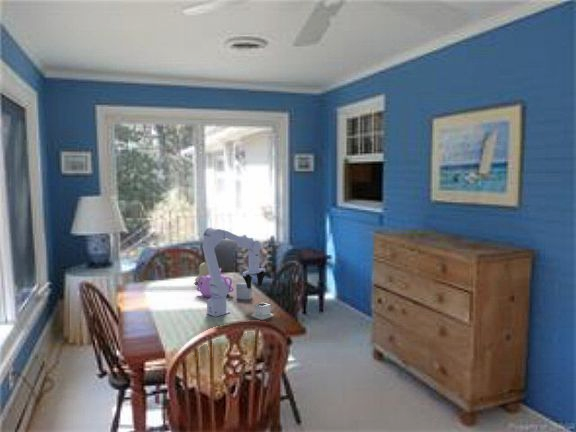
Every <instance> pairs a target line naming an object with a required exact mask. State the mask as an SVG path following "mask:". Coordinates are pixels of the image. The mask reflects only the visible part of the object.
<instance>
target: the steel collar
mask: <svg viewBox="0 0 576 432" xmlns="http://www.w3.org/2000/svg"><path fill="white" fill-rule="evenodd" d="M261 305H264V306H261ZM271 310H272V309H271V304H269V303H267V302H260V303H256V304H254V314H255V315H258V316H261V317H263V316H267V315H270V314H272V313H271Z"/></svg>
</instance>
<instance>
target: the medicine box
mask: <svg viewBox="0 0 576 432" xmlns="http://www.w3.org/2000/svg"><path fill="white" fill-rule="evenodd" d="M252 285H253V284H252V282H251V289H249V288H247V285H246V282H238V283H236V285H235V286H236V288H235V289H236V300H248V301H249V300H251V299H252V298H253V287H252Z"/></svg>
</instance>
